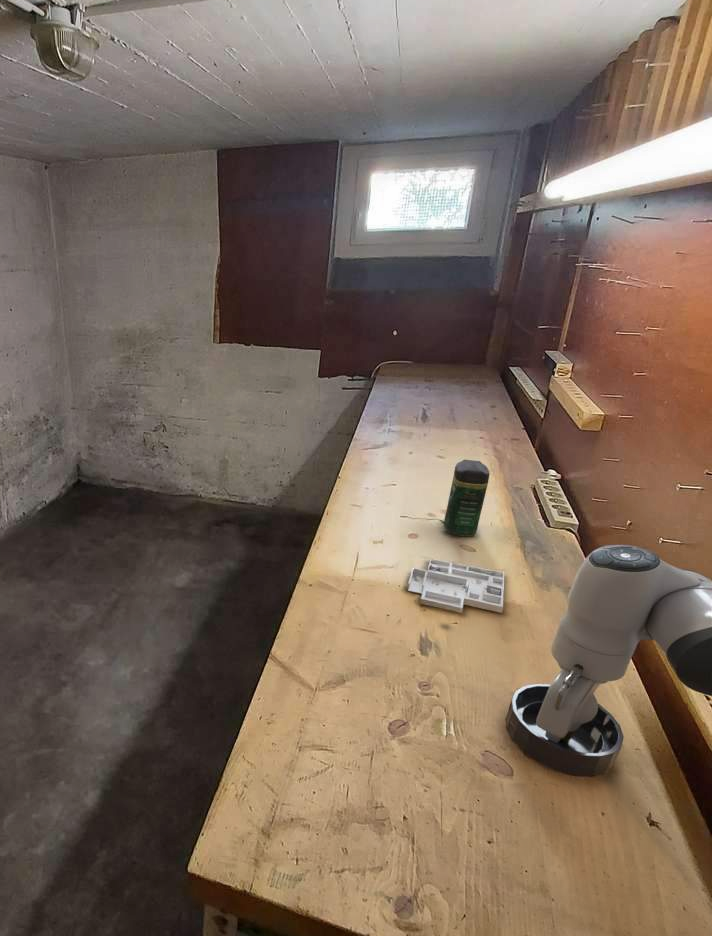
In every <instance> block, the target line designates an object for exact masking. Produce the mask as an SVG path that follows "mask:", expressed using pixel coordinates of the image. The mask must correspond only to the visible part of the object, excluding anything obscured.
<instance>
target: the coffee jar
mask: <svg viewBox="0 0 712 936" xmlns="http://www.w3.org/2000/svg"><path fill="white" fill-rule="evenodd" d="M490 476H491V475H490V470H489V467H488V466H487V465H485V464H484V463H483V462H482V461H480V460H472V459H463V460H461V461H459V462H457V463H456V465H455V466H454V471H453V477H452V481H451V487H450V492H449V495H448V499H447V501H448V502H447V505H446V512H445V516H444V520H443V526H444V529H445V531H446V532H447V533H450V534H452V535H456V536H460V537H471V536H474V535H476V534H477V531H478V528H479V523H480V519H481V514H482V510H483V507H484V502H485V498H486V493H487V489H488V485H489V480H490Z"/></svg>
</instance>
